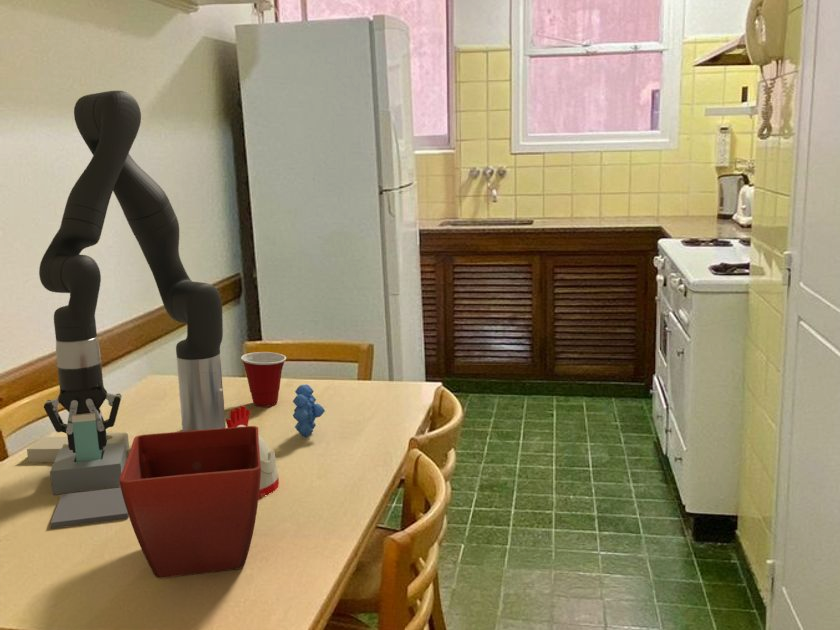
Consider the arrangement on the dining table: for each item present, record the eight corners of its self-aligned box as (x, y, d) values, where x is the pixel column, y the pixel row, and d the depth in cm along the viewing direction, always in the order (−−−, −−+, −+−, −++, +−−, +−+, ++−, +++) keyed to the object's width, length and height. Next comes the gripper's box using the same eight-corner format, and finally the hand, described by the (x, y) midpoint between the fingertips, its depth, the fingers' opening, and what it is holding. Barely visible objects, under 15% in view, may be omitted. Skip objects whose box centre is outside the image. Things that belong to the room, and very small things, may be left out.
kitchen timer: (292, 477, 156) (287, 401, 153) (254, 507, 143) (249, 424, 140) (227, 469, 160) (222, 395, 157) (186, 497, 147) (179, 417, 145)
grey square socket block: (127, 463, 164) (125, 442, 163) (122, 486, 153) (120, 463, 152) (62, 470, 161) (60, 448, 160) (52, 494, 150) (50, 471, 149)
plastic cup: (284, 409, 197) (282, 360, 194) (239, 410, 197) (236, 361, 195) (292, 396, 207) (289, 350, 205) (249, 397, 208) (246, 350, 205)
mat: (132, 491, 151) (132, 486, 150) (127, 518, 139) (127, 513, 139) (62, 499, 148) (61, 494, 147) (51, 528, 136) (50, 522, 136)
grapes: (321, 446, 171) (318, 391, 169) (288, 446, 172) (285, 391, 170) (331, 428, 183) (328, 375, 180) (300, 428, 183) (298, 375, 181)
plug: (103, 473, 159) (97, 407, 157) (101, 481, 156) (94, 414, 153) (81, 475, 158) (74, 409, 156) (79, 483, 155) (71, 416, 152)
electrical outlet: (43, 432, 173) (128, 431, 172) (45, 451, 174) (130, 450, 173) (26, 444, 166) (114, 443, 165) (28, 463, 167) (116, 463, 166)
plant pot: (268, 577, 119) (261, 467, 116) (128, 595, 115) (117, 481, 112) (264, 521, 137) (258, 424, 134) (144, 534, 133) (134, 435, 130)
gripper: (121, 354, 158) (129, 439, 161) (41, 360, 154) (51, 447, 158) (118, 363, 151) (126, 452, 154) (33, 370, 147) (44, 461, 151)
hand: (88, 449), depth 156 cm, fingers closed on plug, 4 cm apart
